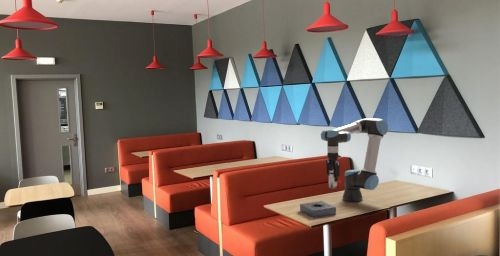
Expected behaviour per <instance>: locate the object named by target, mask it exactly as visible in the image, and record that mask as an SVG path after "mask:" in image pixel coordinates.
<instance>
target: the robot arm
mask: <svg viewBox="0 0 500 256" xmlns="http://www.w3.org/2000/svg"><path fill="white" fill-rule="evenodd" d="M388 131H389V124H388V123H387V120H385V119H383V118H362V119H359V120H355V121H353V122H352V123H351V124H347V125H344V126H339V127H337V128H333V129H329V130H322V131H321V133H320V139H321V140H322V141H324V142H325V141H326V142H327V143H326V144H327V145H326V146H327V155H326V156H327V158H328V159H326V160H325V162H326V165H325V167H326V170H325V171H326V174H327V176H328V178H327V179H328V180H329V171H330V170H333V173H334V176H333V186H336V187H337V186H338V177H340V166H341V165H340V164H341V162H340V161H338V158H339V144H343V143H348V142H350V141H351V139H352V136H351V135H353V134H367V136H368V143H367V147H366V152H365V158H364V162H363V163H364V164H363V168H362V169H349V170H346V171H345V172H344V191H343V194H342V200H343V201H345V202H350V203H358V202H362V201H363V195H362V191H361V189H363V190H367V191H373V190H375V189H376V188H377V187H378V185H379V183H380V180H379V179H380V178H379V176H378V175H377V174H378V173H377V171H376V167H377V161H378V157H379V151H380V146H381V140H382V139H384V136H385V135H386V134H387V133H388Z"/></svg>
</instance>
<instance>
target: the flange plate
mask: <svg viewBox="0 0 500 256" xmlns="http://www.w3.org/2000/svg"><path fill="white" fill-rule="evenodd" d="M299 211H300V212H301V213H303V214H305V215H307V216H309V217H311V218H313V219H316V218H322V217H327V216H328V217H329V216H333V215H336V214H337V207H336V206H334V205H332V204H330V203H327V202H325V201H322V200H319V201H313V202H304V203H300V204H299Z"/></svg>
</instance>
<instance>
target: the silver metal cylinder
mask: <svg viewBox="0 0 500 256" xmlns="http://www.w3.org/2000/svg"><path fill="white" fill-rule="evenodd" d="M333 176H334V173H333V169H332V170H330V171H329V177H328V178H329V179H328V187H329V188H330V189H337V186H333Z"/></svg>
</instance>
